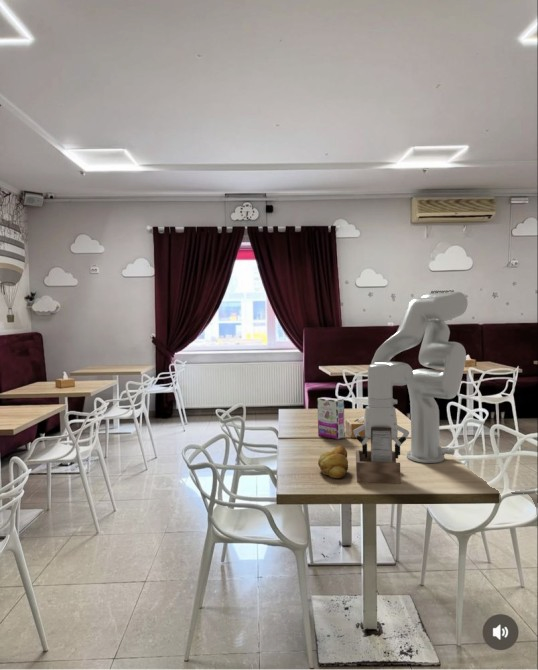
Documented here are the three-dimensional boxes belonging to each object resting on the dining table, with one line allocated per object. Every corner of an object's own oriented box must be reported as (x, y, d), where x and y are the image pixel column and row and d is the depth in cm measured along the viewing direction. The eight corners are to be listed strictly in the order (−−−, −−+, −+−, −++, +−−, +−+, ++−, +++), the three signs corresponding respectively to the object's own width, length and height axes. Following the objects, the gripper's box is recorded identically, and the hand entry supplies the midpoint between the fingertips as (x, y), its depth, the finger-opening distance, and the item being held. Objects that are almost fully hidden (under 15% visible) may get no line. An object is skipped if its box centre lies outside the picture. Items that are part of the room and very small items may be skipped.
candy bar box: (345, 437, 188) (344, 399, 187) (337, 440, 184) (337, 400, 184) (325, 433, 196) (324, 396, 195) (317, 435, 192) (316, 397, 192)
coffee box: (371, 470, 146) (370, 421, 146) (391, 471, 145) (390, 422, 145) (371, 480, 137) (370, 428, 137) (393, 481, 136) (392, 429, 136)
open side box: (395, 469, 147) (395, 451, 147) (400, 483, 134) (400, 463, 134) (356, 467, 149) (355, 450, 149) (357, 481, 136) (356, 462, 136)
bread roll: (350, 481, 137) (349, 455, 137) (318, 480, 138) (318, 455, 138) (346, 467, 150) (346, 443, 150) (318, 467, 151) (317, 444, 151)
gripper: (407, 401, 143) (407, 454, 143) (352, 400, 146) (353, 452, 146) (410, 405, 135) (411, 461, 136) (352, 404, 138) (353, 459, 139)
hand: (381, 456), depth 141 cm, fingers open, 9 cm apart
